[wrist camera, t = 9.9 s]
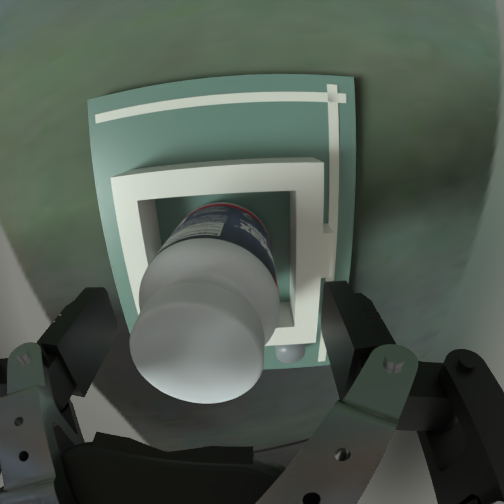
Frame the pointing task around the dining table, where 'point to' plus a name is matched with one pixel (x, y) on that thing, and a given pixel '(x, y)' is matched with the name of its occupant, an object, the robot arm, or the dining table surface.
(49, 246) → the dining table surface
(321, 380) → the dining table surface
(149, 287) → the pill bottle
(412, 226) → the dining table surface
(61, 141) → the dining table surface
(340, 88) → the board
